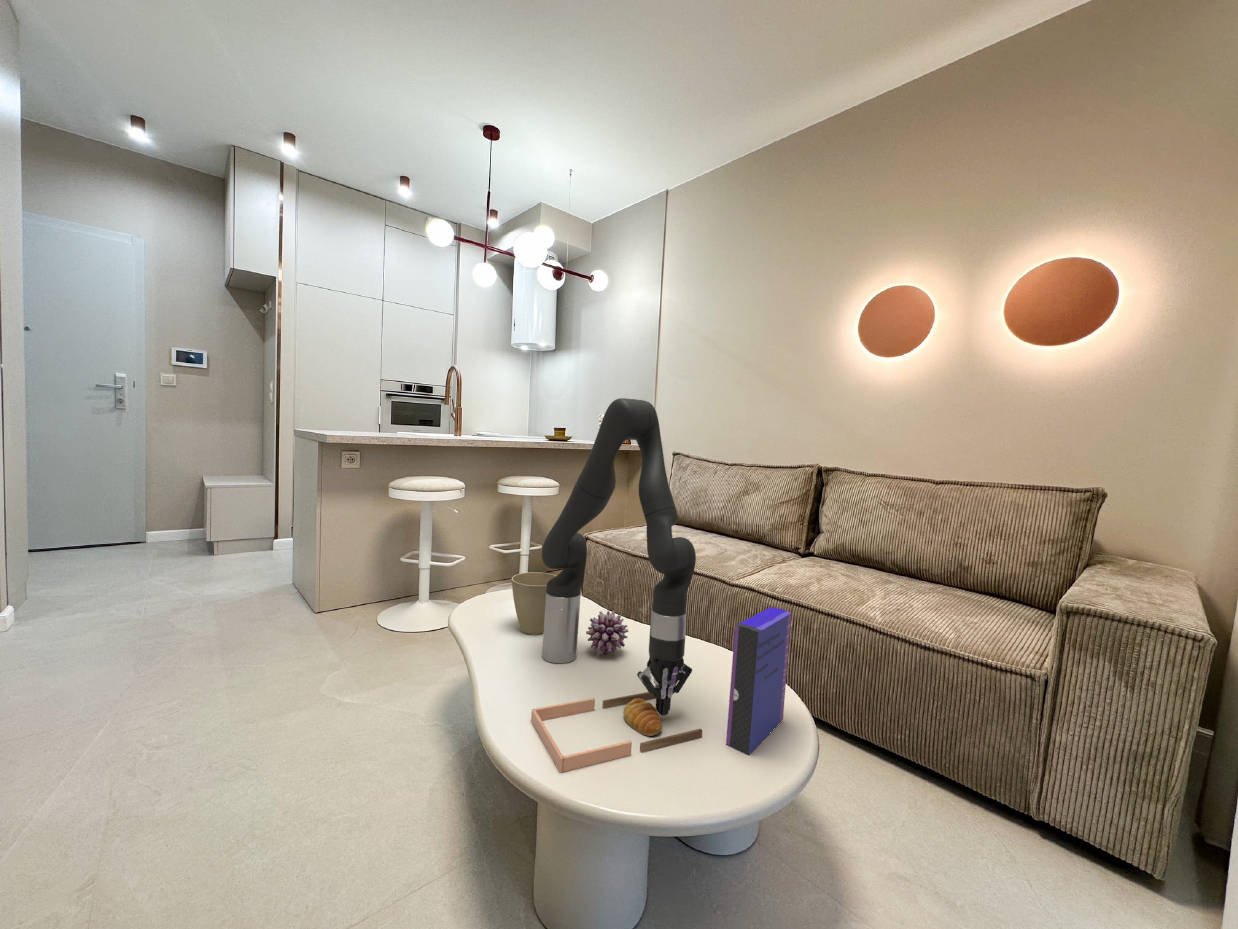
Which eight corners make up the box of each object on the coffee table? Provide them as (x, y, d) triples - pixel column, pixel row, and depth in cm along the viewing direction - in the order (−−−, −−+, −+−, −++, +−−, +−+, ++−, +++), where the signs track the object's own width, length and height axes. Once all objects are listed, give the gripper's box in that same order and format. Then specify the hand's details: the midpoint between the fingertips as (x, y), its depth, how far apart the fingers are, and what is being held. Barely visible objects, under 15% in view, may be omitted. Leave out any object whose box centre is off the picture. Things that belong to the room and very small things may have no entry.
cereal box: (761, 712, 110) (770, 606, 109) (782, 720, 107) (791, 611, 106) (725, 744, 97) (735, 624, 96) (748, 755, 94) (758, 631, 93)
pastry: (670, 734, 99) (671, 716, 99) (641, 742, 96) (642, 723, 96) (646, 711, 107) (647, 694, 107) (619, 717, 104) (620, 700, 104)
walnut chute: (602, 707, 107) (602, 700, 107) (657, 696, 114) (657, 690, 114) (641, 752, 92) (641, 744, 92) (701, 737, 98) (702, 730, 98)
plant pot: (503, 624, 153) (506, 573, 152) (549, 620, 159) (553, 571, 159) (514, 642, 139) (518, 586, 139) (564, 637, 145) (568, 584, 145)
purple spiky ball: (628, 647, 141) (631, 606, 141) (624, 665, 129) (628, 620, 129) (588, 643, 142) (591, 602, 142) (581, 660, 130) (584, 615, 130)
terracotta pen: (530, 721, 100) (531, 709, 100) (593, 709, 106) (594, 698, 106) (560, 772, 85) (561, 759, 85) (630, 755, 91) (631, 742, 91)
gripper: (683, 623, 110) (678, 699, 110) (631, 629, 104) (626, 710, 104) (703, 635, 103) (698, 716, 104) (650, 643, 97) (644, 729, 98)
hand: (662, 713), depth 104 cm, fingers closed
